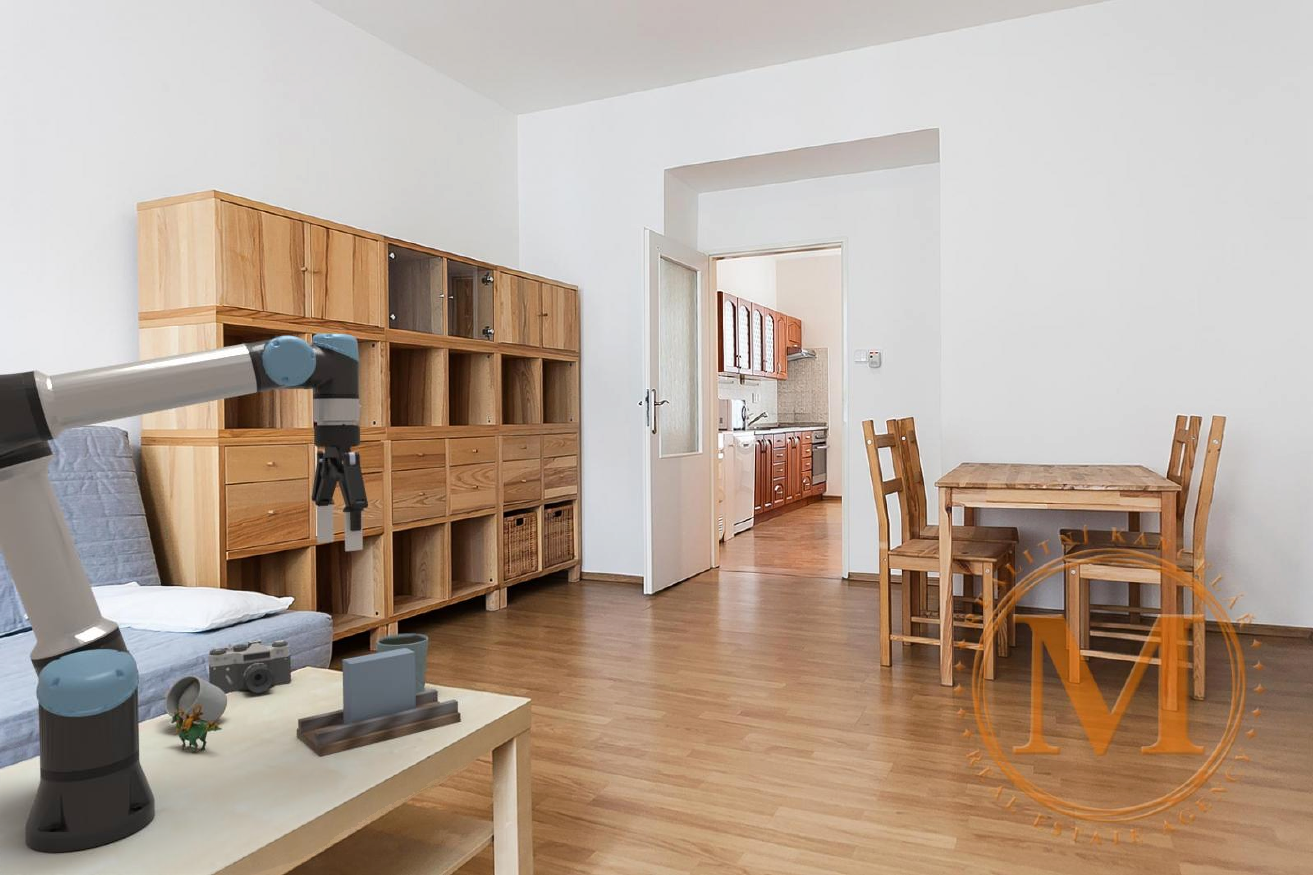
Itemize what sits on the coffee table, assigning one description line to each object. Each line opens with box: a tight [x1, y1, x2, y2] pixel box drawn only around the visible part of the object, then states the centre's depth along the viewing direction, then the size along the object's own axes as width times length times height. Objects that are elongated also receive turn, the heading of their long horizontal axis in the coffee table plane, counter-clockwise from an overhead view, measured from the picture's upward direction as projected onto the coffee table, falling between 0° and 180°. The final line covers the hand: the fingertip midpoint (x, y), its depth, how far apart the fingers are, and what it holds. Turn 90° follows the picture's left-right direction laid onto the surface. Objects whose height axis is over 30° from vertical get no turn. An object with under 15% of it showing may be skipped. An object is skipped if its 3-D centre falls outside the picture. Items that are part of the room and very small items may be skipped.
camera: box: [208, 638, 292, 694], centre depth 183 cm, size 16×10×10 cm, turn 120°
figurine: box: [170, 705, 223, 754], centre depth 150 cm, size 3×12×8 cm, turn 67°
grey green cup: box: [375, 633, 429, 693], centre depth 178 cm, size 10×10×12 cm
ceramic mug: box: [162, 674, 228, 724], centre depth 163 cm, size 11×8×8 cm
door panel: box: [342, 648, 416, 725], centre depth 160 cm, size 12×4×12 cm, turn 130°
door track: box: [296, 688, 462, 757], centre depth 160 cm, size 26×12×4 cm, turn 130°
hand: (339, 546), depth 152 cm, fingers open, 13 cm apart
